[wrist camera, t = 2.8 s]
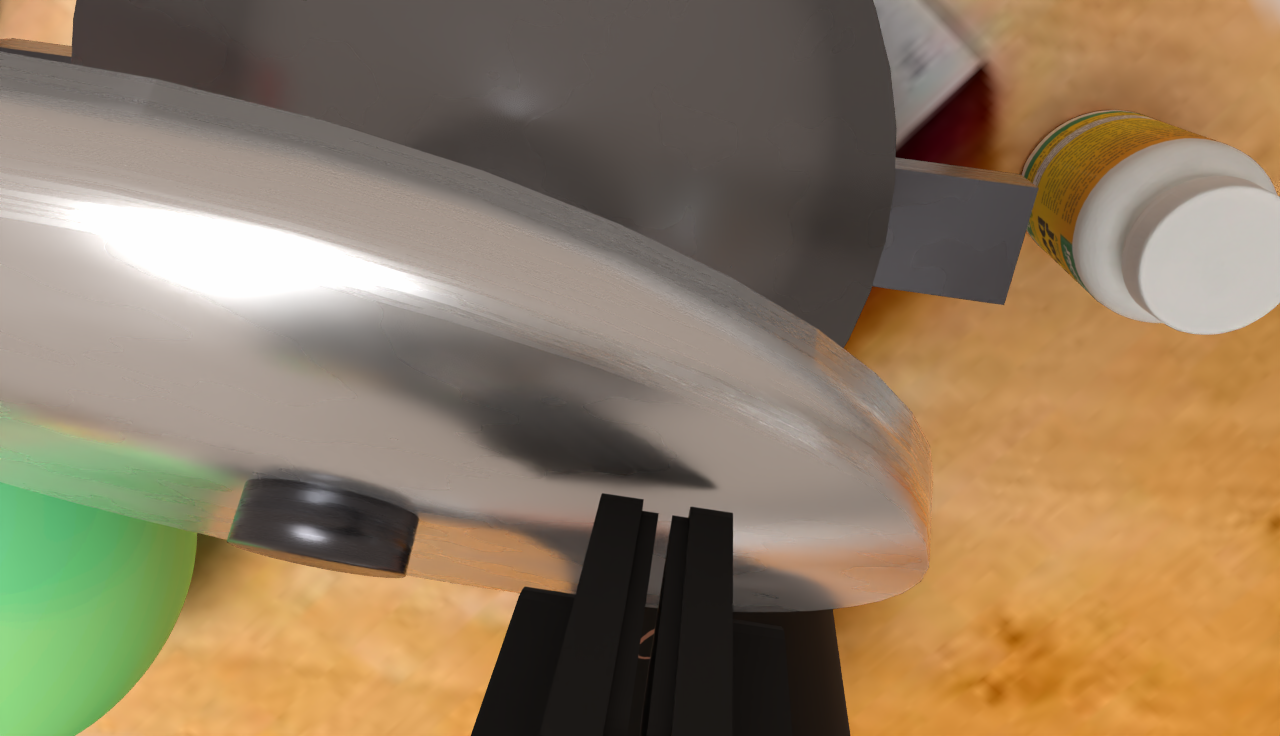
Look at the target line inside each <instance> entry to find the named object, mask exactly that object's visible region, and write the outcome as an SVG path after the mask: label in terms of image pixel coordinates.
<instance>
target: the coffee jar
mask: <svg viewBox="0 0 1280 736" xmlns="http://www.w3.org/2000/svg"><path fill="white" fill-rule="evenodd" d="M657 611H658V608H652V607H645V613H644V620H643V627H642V634H641V641H640V648H639V655H638V662H637V669H636V676H635V683H634V691H633V698H632V705H631V712H630V719H629V726H628V733H627V736H640V728H641V720H642V712H643V705H644V697H645V690H646V683H647V676H648V670H649V663H650V657H651V650H652V644H653V637H654V630H655V624H656V617H657ZM733 619H737V620H743V621H749V622H756V623H762V624H769V625H775V626H781V627H782V628H783V630H784V635H785V643H786V657H787V671H788V684H789V698H790V711H791V725H792V736H850V730H849V723H848V716H847V708H846V701H845V694H844V687H843V680H842V673H841V666H840V659H839V651H838V644H837V637H836V630H835V623H834V616H833V609H826V610H816V611H794V612H733Z"/></svg>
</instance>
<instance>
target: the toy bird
mask: <svg viewBox="0 0 1280 736" xmlns="http://www.w3.org/2000/svg"><path fill="white" fill-rule="evenodd" d="M196 547H197V533H195V532H191V531H187V530H183V529H178V528H174V527H170V526H166V525H161V524H157V523H153V522H149V521H145V520H141V519H137V518H133V517H129V516H125V515H121V514H117V513H113V512H109V511H105V510H101V509H97V508H93V507H89V506H86V505H82V504H78V503H74V502H71V501H67V500H63V499H59V498H56V497H52V496H48V495H44V494H41V493H37V492H33V491H30V490H26V489H23V488H19V487H16V486H12V485H9V484H5V483H1V482H0V736H75V735H77V734H78V733H80V732H81V731H83V730H84V729H86V728H87V727H89V726H90V725H92V724H93V723H94V722H96V721H97V720H98V719H100V718H101V717H102V716H103V715H105V714H106V713H107V712H108V711H109V710H110V709H112V708H113V707H114V706H115V705H116V704H117V703H118V702H119V701H120V700H121V699H122V698H123V697H124V696H125V695H126V694H127V693H128V692H129V691H130V690H131V689H132V688H133V687H134V685H135V684H136V683H137V682H138V681H139V680H140V678H141V677H142V676H143V675H144V673H145V672H146V671H147V669H148V668H149V667H150V665H151V664H152V663H153V661H154V660H155V658H156V657H157V655H158V654H159V652H160V651H161V649H162V647H163V646H164V644H165V642H166V641H167V639H168V637H169V635H170V633H171V631H172V629H173V627H174V625H175V623H176V621H177V619H178V617H179V615H180V612H181V610H182V607H183V605H184V602H185V599H186V596H187V593H188V590H189V586H190V583H191V579H192V574H193V569H194V564H195V557H196Z"/></svg>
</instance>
